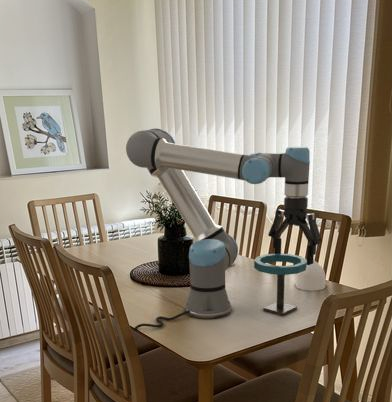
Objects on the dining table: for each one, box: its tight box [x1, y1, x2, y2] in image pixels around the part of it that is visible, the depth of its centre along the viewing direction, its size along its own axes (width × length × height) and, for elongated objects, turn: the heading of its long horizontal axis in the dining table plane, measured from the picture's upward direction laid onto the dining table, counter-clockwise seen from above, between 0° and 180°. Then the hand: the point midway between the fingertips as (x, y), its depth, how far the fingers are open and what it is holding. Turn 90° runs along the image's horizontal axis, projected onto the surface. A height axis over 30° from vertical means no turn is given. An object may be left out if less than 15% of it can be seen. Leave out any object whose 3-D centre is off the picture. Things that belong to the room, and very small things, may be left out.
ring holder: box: [262, 274, 298, 317], centre depth 181 cm, size 8×8×14 cm
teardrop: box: [295, 258, 326, 292], centre depth 205 cm, size 11×11×12 cm
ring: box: [253, 253, 307, 276], centre depth 178 cm, size 17×17×2 cm
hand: (293, 260), depth 184 cm, fingers closed on ring, 12 cm apart
